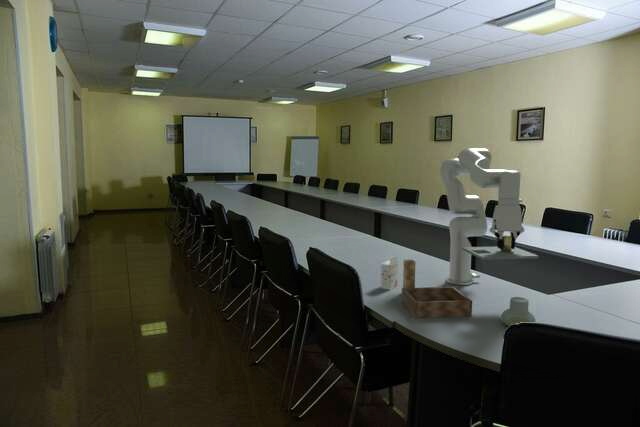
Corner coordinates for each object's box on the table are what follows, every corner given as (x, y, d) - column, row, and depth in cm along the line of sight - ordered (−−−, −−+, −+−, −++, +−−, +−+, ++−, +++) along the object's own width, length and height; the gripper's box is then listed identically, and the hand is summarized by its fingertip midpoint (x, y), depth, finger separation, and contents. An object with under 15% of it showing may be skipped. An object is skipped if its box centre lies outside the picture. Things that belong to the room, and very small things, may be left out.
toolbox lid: (512, 248, 179) (513, 232, 178) (538, 258, 161) (539, 240, 160) (462, 249, 177) (462, 233, 176) (482, 259, 159) (483, 241, 158)
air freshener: (501, 328, 150) (503, 301, 149) (500, 320, 158) (502, 294, 157) (536, 333, 147) (537, 305, 145) (533, 324, 154) (535, 297, 153)
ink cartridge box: (387, 283, 204) (388, 253, 202) (397, 285, 201) (398, 254, 199) (380, 288, 196) (380, 257, 194) (390, 290, 194) (391, 258, 192)
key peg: (411, 292, 190) (412, 259, 189) (414, 295, 187) (415, 261, 185) (402, 292, 190) (403, 259, 188) (405, 295, 186) (406, 262, 184)
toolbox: (452, 300, 180) (453, 286, 179) (471, 316, 162) (472, 300, 161) (401, 302, 178) (401, 288, 177) (415, 318, 160) (415, 302, 159)
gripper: (523, 201, 171) (520, 246, 174) (483, 201, 170) (481, 246, 172) (534, 203, 164) (531, 250, 166) (492, 203, 162) (490, 250, 165)
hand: (505, 247), depth 169 cm, fingers closed on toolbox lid, 4 cm apart
